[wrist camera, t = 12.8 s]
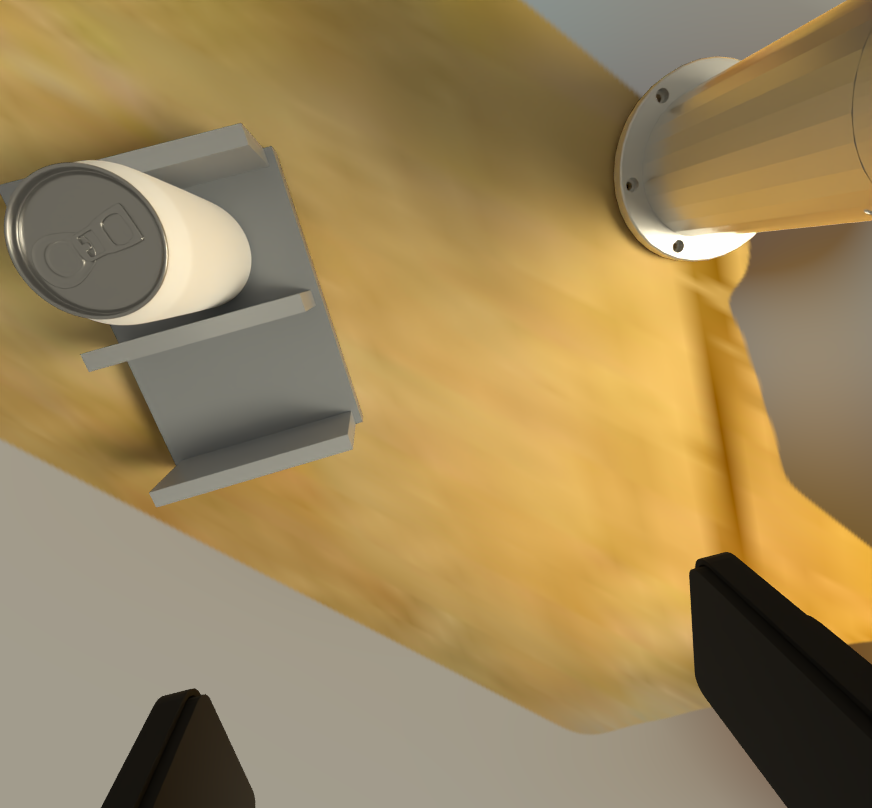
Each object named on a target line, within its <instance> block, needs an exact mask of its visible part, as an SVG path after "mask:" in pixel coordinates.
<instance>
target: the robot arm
mask: <svg viewBox="0 0 872 808" xmlns="http://www.w3.org/2000/svg"><path fill="white" fill-rule="evenodd" d="M656 98H657V99H656ZM657 100H658V101H657ZM614 184H615V195H616V198H617V202H618V206H619V209H620V212H621V214H622V217H623V219H624V221H625V223H626V225H627V227H628V228H629V229H630V231H631V232H632V233H633V235H634V236H635V237H636V239H637V240H638V241H639V242H641V243H642V244H643V245H644V246H645V247H647V248H648V249H649V250H650V251H652V252H654V253H656V254H658V255H660V256H662V257H665V258H669V259H673V260H677V261H701V260H709V259H713V258H716V257H720V256H723V255H725V254H727V253H729V252H731V251H733V250H735V249H737V248H739V247H740V246H742V245H743V244H744V243H746V242H747V241H748V240H750V239H751V238H752V237H753V236H754V235H755V234H756V233H757V232H765V231H774V230H785V229H795V228H804V227H813V226H824V225H833V224H843V223H853V222H863V221H872V0H846V1H845V2H843V3H842V4H840V5H838V6H836V7H834V8H832V9H831V10H829V11H827V12H826V13H824V14H822V15H820V16H819V17H817V18H815V19H813V20H811V21H810V22H808V23H806V24H804V25H803V26H801V27H799V28H798V29H796V30H794V31H792V32H791V33H789V34H787V35H785V36H784V37H782V38H780V39H778V40H777V41H775V42H773V43H771V44H770V45H768V46H766V47H764V48H763V49H761V50H759V51H757V52H756V53H754V54H752V55H750V56H749V57H747V58H745V59H743V60H742V61H740V60H738V59H735V58H728V57H717V56H716V57H709V58H702V59H698V60H695V61H692V62H690V63H688V64H685V65H682V66H680V67H679V68H677V69H675V70H674V71H672V72H671V73H669V74H667V75H666V76H664V77H663V78H662V79H661V80H659V81H658V82H657V83H656V84H654V85H653V86H652V87H651V88H650V89H649V90H648V91H647V92H646V93H645V94H644V96H643V97H642V98H641V99H640V100H639V101H638V103H637V104H636V106H635V107H634V109H633V111H632V112H631V114H630V115H629V117H628V119H627V121H626V124H625V126H624V128H623V131H622V133H621V136H620V138H619V143H618V147H617V151H616V155H615V166H614ZM626 184H628V186H629V188H628V190H627V187H626ZM672 247H673V248H672ZM689 579H690V597H691V614H692V632H693V649H694V667H695V677H696V680H697V683H698V686H699V688H700V690H701V692H702V693H703V695H704V696H705V698H706V699H707V701H708V702H709V703H710V705H711V706H712V707H713V709H714V710H715V711H716V713H717V714H718V715H719V717H720V718H721V719H722V721H723V722H724V723H725V725H726V726H727V727H728V729H729V730H730V731H731V733H732V734H733V735H734V737H735V738H736V739H737V741H738V742H739V744H740V745H741V746H742V748H743V749H744V750H745V752H746V753H747V754H748V755H749V757H750V758H751V759H752V761H753V762H754V764H755V765H756V766H757V768H758V769H759V770H760V772H761V773H762V774H763V775H764V777H765V778H766V780H767V781H768V782H769V784H770V785H771V786H772V788H773V789H774V790H775V792H776V793H777V794H778V796H779V797H780V798H781V800H782V801H783V802H784V804H785V805H786V806H787V808H872V664H870V663H869V662H868V661H867V660H866V659H864V658H863V657H862V656H861V655H859V654H858V653H857V652H856V651H854V650H853V649H852V648H851V647H850V646H848V645H847V644H846V643H845V642H844V641H842V640H841V639H840V638H839V637H837V636H836V635H835V634H834V633H832V632H831V631H830V630H829V629H828V628H826V627H825V626H824V625H823V624H821V623H820V622H819V621H817V620H816V619H814V618H813V617H811V616H809V615H806V614H805V613H804V612H803V611H801V610H800V609H799V608H798V607H797V606H795V605H794V604H793V603H792V602H790V601H789V600H788V599H787V598H786V597H784V596H783V595H782V594H781V593H780V592H778V591H777V590H776V589H775V588H774V587H772V586H771V585H770V584H769V583H767V582H766V581H765V580H764V579H763V578H761V577H760V576H759V575H758V574H757V573H755V572H754V571H753V570H752V569H750V568H749V567H748V566H747V565H746V564H744V563H743V562H742V561H741V560H740V559H738V558H737V557H736V556H735V555H733V554H731V553H729V552H724V553H720V554H716V555H713V556H709V557H705V558H701V559H698V560H697V561H696V565H695V569H692V570H690V573H689ZM101 808H255V797H254V793H253V790H252V788H251V786H250V784H249V782H248V779H247V778H246V776H245V773H244V771H243V769H242V767H241V764H240V762H239V760H238V758H237V756H236V754H235V751H234V749H233V747H232V745H231V743H230V741H229V739H228V736H227V734H226V732H225V730H224V728H223V726H222V723H221V721H220V720H219V717H218V715H217V713H216V711H215V709H214V706H213V704H212V702H211V700H210V698H209V697H208V696H207V695H206V694H205V695H201V694H200V693H199V691H198V690H196V689H189V690H185V691H181V692H177V693H173V694H169V695H165V696H162V697H161V698H159V699H158V700H157V702H156V703H155V705H154V706H153V708H152V710H151V713H150V714H149V716H148V718H147V720H146V722H145V724H144V726H143V728H142V730H141V731H140V733H139V735H138V737H137V739H136V741H135V743H134V745H133V747H132V749H131V751H130V753H129V755H128V757H127V759H126V760H125V762H124V764H123V766H122V768H121V770H120V772H119V774H118V776H117V778H116V780H115V782H114V784H113V786H112V788H111V789H110V792H109V793H108V795H107V797H106V799H105V801H104V803H103V805H102V807H101Z"/></svg>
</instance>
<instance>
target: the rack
mask: <svg viewBox="0 0 872 808" xmlns="http://www.w3.org/2000/svg"><path fill="white" fill-rule="evenodd" d="M99 161H107V162H112V163H117V164H121V165H124V166H127V167H130V168H132V169H135V170H138V171H140V172H143V173H145V174H147V175H150V176H152V177H155V178H157V179H159V180H162V181H164V182H166V183H169V184H171V185H173V186H176V187H178V188H180V189H182V190H185V191H187V192H189V193H192V194H194V195H196V196H198V197H201V198H203V199H205V200H207V201H209V202H211V203H213V204H215V205H217V206H219V207H221V208H222V209H223V210H225V211H226V212H227V213H229V214H230V215H231V216H232V217H233V218H234V219H235V220H236V221H237V223H238V224H239V225H240V227H241V228H242V230H243V231H244V233H245V235H246V237H247V240H248V243H249V246H250V251H251V270H250V274H249V277H248V280H247V282H246V284H245V286H244V287H243V289H242V290H241V291H240V293H239V294H238V295H237V296H236V297H234V298H233V299H232V300H230V301H229V302H227V303H225V304H223V305H220V306H217V307H214V308H210V309H206V310H202V311H198V312H193V313H189V314H185V315H180V316H176V317H171V318H167V319H162V320H157V321H153V322H148V323H142V324H135V325H112V324H110V326H111V328H112V330H113V332H114V334H115V336H116V339H117V341H118V344H115V345H111V346H108V347H104V348H101V349H97V350H94V351H90V352H86V353H83V354H80V355H81V357H82V359H83V361H84V363H85V365H86V367H87V369H88V371H89V372H91V371H94V370H98V369H101V368H105V367H109V366H112V365H116V364H119V363H123V362H126V361H127V362H128V364H129V366H130V368H131V371H132V373H133V375H134V377H135V379H136V381H137V383H138V385H139V388H140V390H141V392H142V394H143V396H144V398H145V400H146V402H147V405H148V407H149V409H150V411H151V413H152V415H153V417H154V420H155V422H156V424H157V426H158V428H159V430H160V432H161V434H162V437H163V439H164V441H165V443H166V445H167V447H168V449H169V452H170V454H171V456H172V458H173V460H174V462H175V464H176V467H175V468H174V469H173V470H172V471H170V472H169V473H168V474H167V475H166V476H165V477H164V478H163V479H162V480H161V481H160V482H159V483H158V484H157V485H156V486H155V487H154V488H153V489H152V490H151V491H150V492H149V494H150V496H151V498H152V500H153V502H154V504H155V506H156V507H159V506H163V505H166V504H170V503H173V502H176V501H180V500H183V499H187V498H190V497H193V496H197V495H200V494H203V493H207V492H210V491H214V490H217V489H220V488H224V487H227V486H230V485H234V484H237V483H241V482H244V481H247V480H251V479H254V478H257V477H261V476H264V475H268V474H271V473H274V472H278V471H281V470H284V469H288V468H291V467H295V466H298V465H301V464H305V463H308V462H312V461H315V460H318V459H322V458H325V457H328V456H332V455H335V454H339V453H342V452H345V451H349V450H352V449H353V443H354V434H355V424H357V423H360V422H362V420H363V415H362V412H361V409H360V406H359V403H358V400H357V397H356V394H355V390H354V387H353V384H352V381H351V378H350V375H349V372H348V369H347V366H346V363H345V360H344V357H343V354H342V351H341V348H340V345H339V342H338V339H337V336H336V333H335V330H334V326H333V323H332V320H331V317H330V314H329V311H328V308H327V305H326V302H325V299H324V296H323V293H322V290H321V287H320V284H319V281H318V278H317V275H316V272H315V269H314V266H313V262H312V259H311V256H310V253H309V250H308V247H307V244H306V241H305V238H304V235H303V232H302V229H301V226H300V223H299V220H298V217H297V214H296V211H295V208H294V205H293V201H292V198H291V195H290V192H289V189H288V186H287V183H286V180H285V177H284V174H283V171H282V168H281V165H280V162H279V159H278V156H277V153H276V151H275V150H274V149H273V147H272V146H270V147H266V148H263V147H262V146H261V145H260V144H259V143H258V142H257V141H256V139H255V138H254V137H253V136H252V135H251V134H250V133H249V131H248V130H247V129H246V128H245V127H244V126H243V125H242V123H239V124H235V125H231V126H227V127H223V128H220V129H216V130H212V131H208V132H204V133H200V134H196V135H192V136H188V137H184V138H181V139H177V140H173V141H169V142H165V143H161V144H157V145H153V146H149V147H145V148H142V149H138V150H134V151H130V152H126V153H122V154H118V155H114V156H110V157H106V158H103V159H99ZM23 180H24V179H21V180H17V181H13V182H9V183H5V184H1V185H0V194H1V196H2V198H3V200H4V202H5V204H6V206H7V205H8V202H9V200H10V197H11V196H12V194H13V192H14V191H15V189H16V188H17V186H18V185H19V184H20V183H21V182H22V181H23Z"/></svg>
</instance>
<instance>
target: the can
mask: <svg viewBox="0 0 872 808" xmlns="http://www.w3.org/2000/svg"><path fill="white" fill-rule="evenodd" d="M4 235H5V241H6V246H7V249H8V252H9V255H10V257H11V260H12V262H13V264H14V266H15V268H16V269H17V271H18V273H19V274H20V276H21V277H22V278H23V280H24V281H25V282H26V283H27V284H28V286H29V287H30V288H31V289H32V290H33V291H34V292H35V293H36V294H38V295H39V296H40V297H41V298H43V299H44V300H45V301H47V302H48V303H50V304H51V305H53V306H55V307H56V308H58V309H60V310H62V311H65V312H67V313H69V314H72V315H75V316H79V317H83V318H88V319H90V320H93V321H97V322H101V323H105V324H112V325H135V324H142V323H148V322H153V321H157V320H162V319H167V318H171V317H176V316H180V315H185V314H189V313H193V312H198V311H202V310H206V309H210V308H214V307H217V306H220V305H223V304H225V303H227V302H229V301H230V300H232V299H233V298H234V297H236V296H237V295H238V294H239V293H240V291H241V290H242V289H243V287H244V286H245V284H246V282H247V280H248V277H249V274H250V270H251V251H250V246H249V243H248V240H247V237H246V235H245V233H244V231H243V230H242V228H241V227H240V225H239V224H238V223H237V221H236V220H235V219H234V218H233V217H232V216H231V215H230V214H229V213H227V212H226V211H225V210H223V209H222V208H221V207H219V206H217V205H215V204H213V203H211V202H209V201H207V200H205V199H203V198H201V197H198V196H196V195H194V194H192V193H189V192H187V191H185V190H182V189H180V188H178V187H176V186H173V185H171V184H169V183H166V182H164V181H162V180H159V179H157V178H155V177H152V176H150V175H147V174H145V173H143V172H140V171H138V170H135V169H132V168H130V167H127V166H124V165H121V164H117V163H112V162H107V161H99V160H85V161H77V162H68V163H58V164H53V165H49V166H46V167H43V168H41V169H39V170H37V171H35V172H33V173H32V174H30V175H29V176H28V177H26V178H25V179H24V180H23V181H22V182H21V183H20V184H19V185H18V186H17V188H16V189H15V191H14V192H13V194H12V196H11V197H10V200H9V202H8V205H7V208H6V212H5V218H4Z"/></svg>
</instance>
